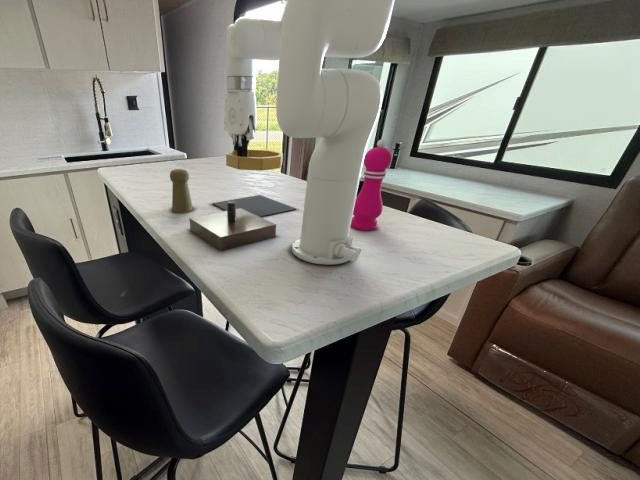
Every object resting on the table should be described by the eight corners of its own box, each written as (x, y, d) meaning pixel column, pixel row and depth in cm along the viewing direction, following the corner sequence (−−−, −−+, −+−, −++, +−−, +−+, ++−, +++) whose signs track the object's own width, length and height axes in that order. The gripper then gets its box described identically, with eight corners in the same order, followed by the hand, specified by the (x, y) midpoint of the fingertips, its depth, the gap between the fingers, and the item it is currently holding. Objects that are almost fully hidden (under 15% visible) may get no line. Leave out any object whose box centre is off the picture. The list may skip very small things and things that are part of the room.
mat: (296, 209, 94) (296, 208, 93) (245, 220, 85) (245, 219, 85) (259, 196, 106) (259, 195, 106) (212, 204, 98) (212, 203, 98)
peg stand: (275, 236, 75) (277, 204, 71) (220, 250, 68) (219, 216, 64) (240, 219, 86) (240, 190, 82) (190, 229, 79) (187, 199, 75)
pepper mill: (382, 226, 82) (404, 139, 71) (370, 233, 77) (392, 142, 67) (356, 219, 86) (373, 137, 75) (343, 226, 82) (359, 139, 71)
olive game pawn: (195, 206, 95) (192, 167, 89) (190, 212, 90) (187, 171, 84) (175, 206, 96) (171, 167, 90) (169, 212, 91) (164, 171, 85)
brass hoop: (292, 166, 88) (293, 155, 86) (247, 172, 81) (248, 159, 79) (260, 158, 98) (260, 148, 97) (218, 163, 91) (217, 151, 90)
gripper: (214, 85, 88) (216, 157, 98) (245, 84, 77) (244, 165, 87) (237, 86, 91) (237, 155, 101) (270, 85, 81) (266, 163, 91)
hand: (240, 160), depth 94 cm, fingers closed on brass hoop, 1 cm apart
